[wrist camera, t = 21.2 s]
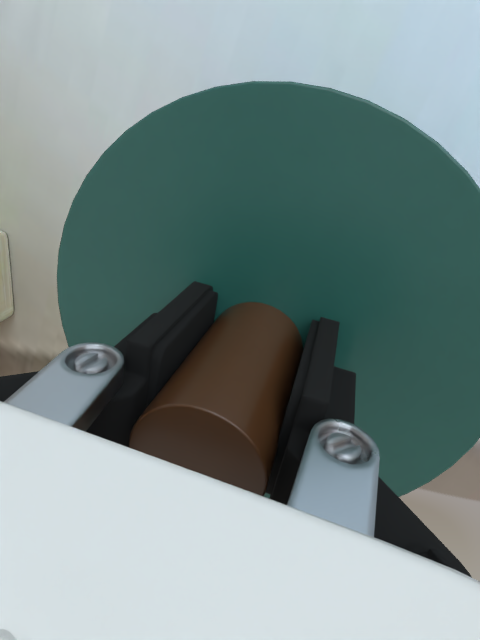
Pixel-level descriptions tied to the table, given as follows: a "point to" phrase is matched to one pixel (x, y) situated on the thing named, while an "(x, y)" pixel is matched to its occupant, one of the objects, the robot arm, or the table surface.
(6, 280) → the toy sink
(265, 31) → the table surface
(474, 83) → the table surface
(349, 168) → the lid
